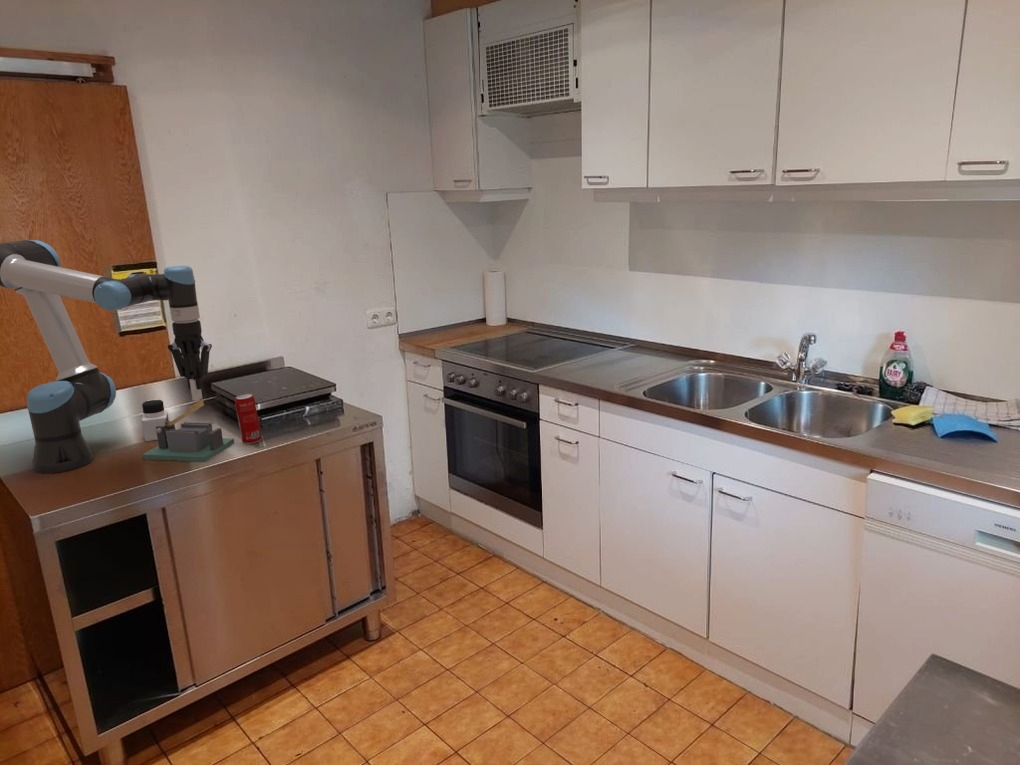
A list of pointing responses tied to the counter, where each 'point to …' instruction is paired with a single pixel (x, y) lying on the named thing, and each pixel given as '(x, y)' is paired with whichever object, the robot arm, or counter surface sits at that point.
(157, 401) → the medicine bottle
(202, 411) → the counter surface
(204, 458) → the board
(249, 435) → the beverage can
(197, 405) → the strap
